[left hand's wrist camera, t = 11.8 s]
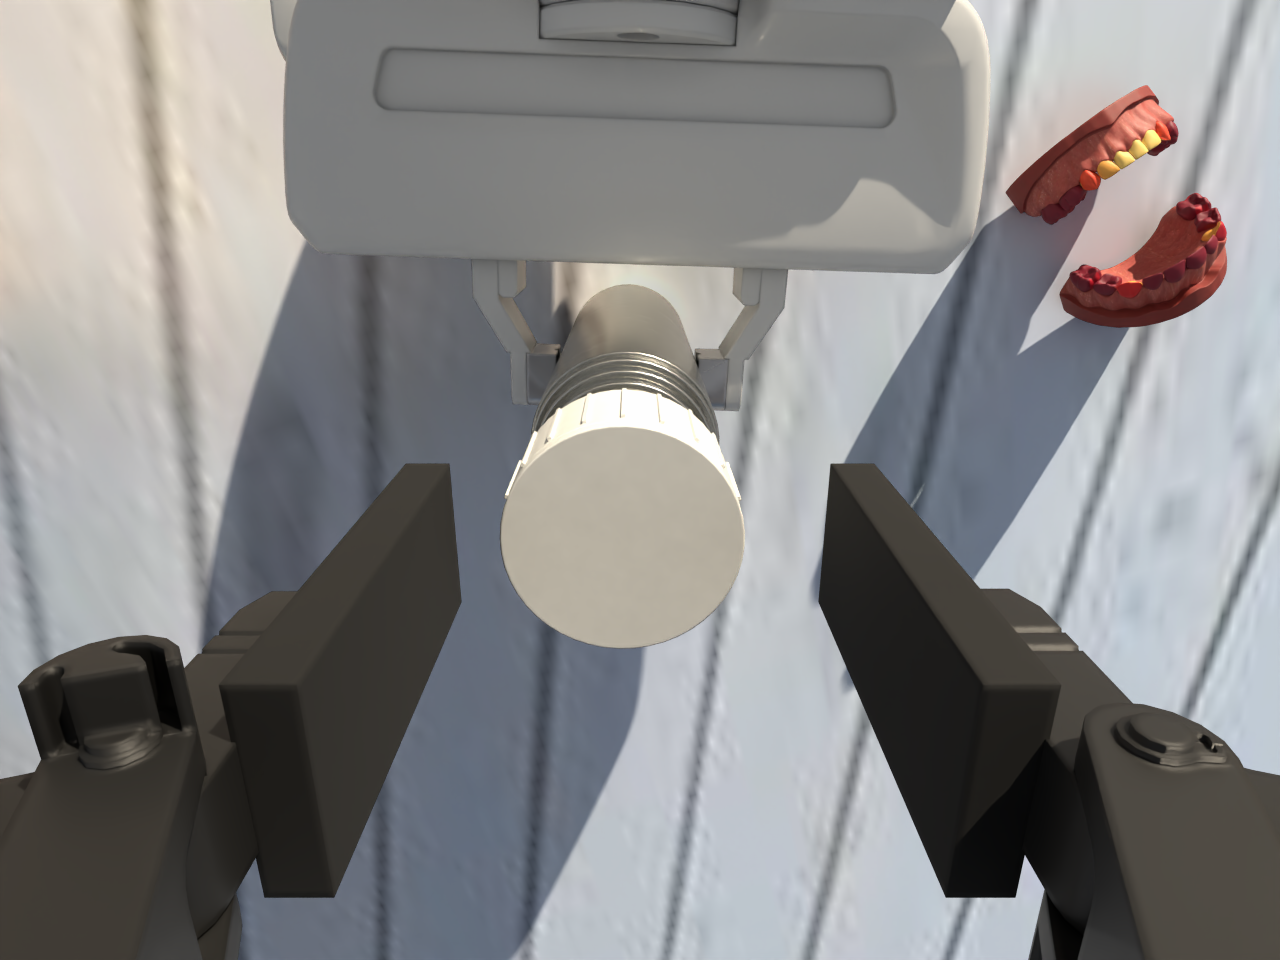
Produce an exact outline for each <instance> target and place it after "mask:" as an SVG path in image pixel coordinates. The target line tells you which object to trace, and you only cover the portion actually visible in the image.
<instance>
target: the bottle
mask: <svg viewBox="0 0 1280 960" xmlns="http://www.w3.org/2000/svg"><path fill="white" fill-rule="evenodd" d="M622 388H626V389H627V390H636V391H643V392H648V393H652V394H656V395H657V393H658V394H661V396H662V397H664V398H667V399H669V400H671V401H673V402H675V403H677V404H679V405H681V406H682V407H684V408H685V409H686V410H688V409H690V410H691V411H692V413H693V415H694V416H695V417H697V418H698V419H699V420H700V421H701V422H702V423H703V424H704V425H705V427H706V428H707V429H708V430H709V432H710V433H711V434H712V433H714V434H715V436H716V439H717V442H718V445H719V431H718V424H717V420H716V417H715V413H714V410H713V407H712V405H711V402H710V399H709V397H708V394H707V391H706V388H705V386H704V383H703V380H702V377H701V375H700V372H699V369H698V367H697V364H696V361H695V358H694V356H693V353H692V350H691V347H690V345H689V342H688V339H687V337H686V334H685V331H684V328H683V326H682V323H681V320H680V318H679V316H678V314H677V312H676V311H675V309H674V308H673V306H672V305H671V304H670V303H669V302H668V301H667V300H666V299H665V298H664V297H663V296H661V295H660V294H659V293H657V292H655V291H653V290H651V289H649V288H646V287H643V286H639V285H631V284H628V285H617V286H613V287H610V288H607V289H605V290H603V291H601V292H599V293H598V294H596V295H594V296H593V297H592V298H591V299H590V300H589V301H588V302H587V303H586V304H585V305H584V306H583V308H582V309H581V311H580V312H579V314H578V316H577V318H576V320H575V323H574V325H573V327H572V330H571V332H570V334H569V336H568V339H567V341H566V343H565V346H564V348H563V350H562V353H561V355H560V357H559V359H558V362H557V364H556V366H555V369H554V371H553V373H552V376H551V378H550V380H549V382H548V385H547V387H546V389H545V392H544V394H543V396H542V399H541V401H540V403H539V405H538V408H537V411H536V414H535V417H534V420H533V425H532V432H531V437H532V434H533V433H534V431H536V432H538V430H539V429H540V428H541V427H542V426H543V424H544V423H545V422H546V421H547V420H548V419H549V418H550V417H551V416H553V415H554V414H555V412H556V410H557V409H558V408H560V409H562V408H563V407H565V406H567V405H568V404H570V403H571V402H574V401H576V400H578V399H580V398H583V397H585V396H587V394H589V393H591V394H595V393H598V392H604V391H610V390H622Z"/></svg>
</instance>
